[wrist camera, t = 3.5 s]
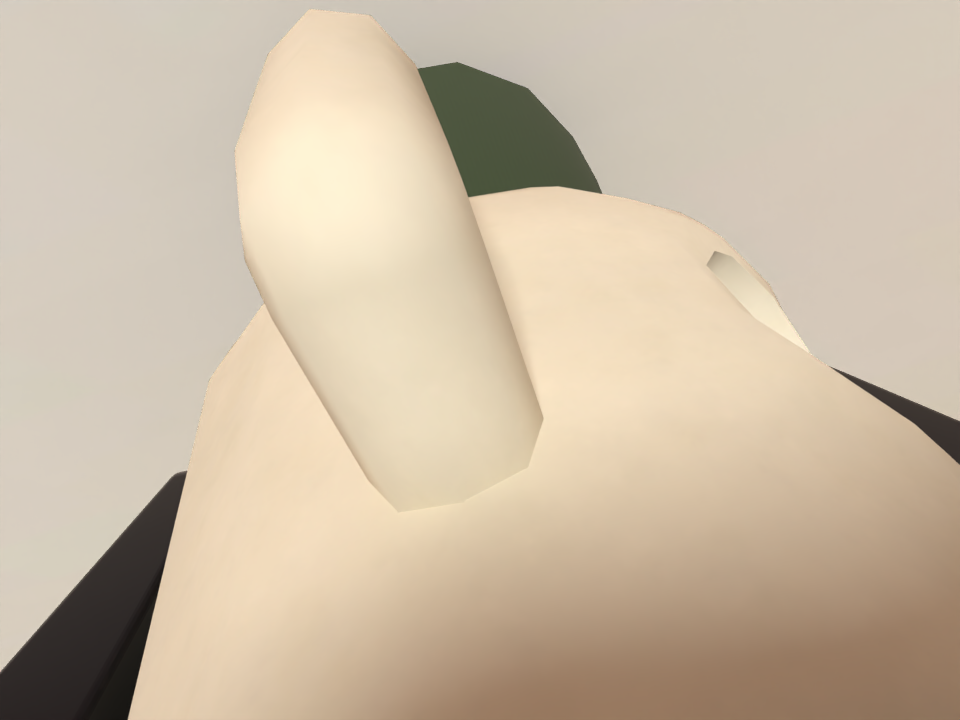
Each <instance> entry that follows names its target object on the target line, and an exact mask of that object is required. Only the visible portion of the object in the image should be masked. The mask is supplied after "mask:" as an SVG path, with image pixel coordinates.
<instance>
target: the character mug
mask: <svg viewBox="0 0 960 720" xmlns="http://www.w3.org/2000/svg"><path fill="white" fill-rule="evenodd" d="M234 152H235V164H236V177H237V190H238V202H239V215H240V224H241V232H242V241H243V249H244V257H245V262H246V264H247V266H248V268H249V271H250V273H251V275H252V277H253V279H254V281H255V284H256V286H257V288H258V290H259V292H260V295H261V297H262V299H263V301H264V303H263V305H262V306H261V308H260V309H259V311H258V312H257V313H256V315H255V316H254V318H253V319H252V320H251V322H250V323H249V325H248V326H247V327H246V329H245V330H244V332H243V333H242V334H241V336H240V337H239V339H238V340H237V341H236V343H235V344H234V345H233V346H232V348H231V349H230V350H229V352H228V353H227V355H226V356H225V358H224V359H223V361H222V362H221V363H220V365H219V366H218V368H217V369H216V371H215V372H214V374H213V375H212V377H211V378H210V380H209V383H208V387H207V391H206V396H205V400H204V404H203V408H202V412H201V416H200V421H199V425H198V429H197V433H196V437H195V441H194V446H193V450H192V454H191V458H190V462H189V466H188V471H187V475H186V479H185V483H184V487H183V491H182V496H181V500H180V504H179V508H178V512H177V516H176V521H175V525H174V529H173V533H172V537H171V541H170V546H169V550H168V554H167V558H166V562H165V566H164V571H163V575H162V579H161V583H160V587H159V591H158V596H157V600H156V604H155V608H154V612H153V616H152V621H151V625H150V629H149V633H148V637H147V641H146V646H145V650H144V654H143V658H142V662H141V666H140V671H139V675H138V679H137V683H136V687H135V691H134V696H133V700H132V704H131V708H130V712H129V717H128V720H960V465H959V464H958V463H957V462H956V461H955V460H954V459H953V458H952V457H951V456H949V455H948V454H947V453H946V452H945V451H944V450H943V449H942V448H941V447H940V446H938V445H937V444H936V443H935V442H934V441H933V440H932V439H931V438H930V437H929V436H927V435H926V434H925V433H924V432H923V431H922V430H921V429H920V428H919V427H917V426H916V425H915V424H914V423H912V422H911V421H909V420H908V419H906V418H905V417H903V416H902V415H901V414H899V413H898V412H896V411H895V410H893V409H892V408H890V407H889V406H887V405H886V404H884V403H883V402H881V401H880V400H878V399H877V398H875V397H874V396H872V395H871V394H869V393H868V392H866V391H865V390H863V389H862V388H860V387H859V386H857V385H856V384H854V383H853V382H851V381H850V380H848V379H847V378H845V377H844V376H842V375H841V374H839V373H838V372H836V371H835V370H833V369H832V368H831V367H829V366H828V365H826V364H825V363H823V362H822V361H820V360H819V359H817V358H816V357H814V356H813V355H811V353H810V352H809V350H808V349H807V347H806V345H805V344H804V342H803V341H802V339H801V338H800V336H799V335H798V333H797V332H796V330H795V329H794V327H793V326H792V324H791V323H790V321H789V320H788V318H787V317H786V315H785V314H784V312H783V310H782V308H781V306H780V304H779V302H778V300H777V298H776V296H775V294H774V292H773V290H772V288H771V286H770V284H769V283H768V282H767V281H766V280H765V279H764V278H763V277H762V276H761V275H760V274H759V273H758V272H757V271H756V270H755V269H754V268H753V267H752V266H751V265H750V264H749V263H748V262H747V261H746V260H745V259H744V258H743V257H742V256H741V255H740V254H739V253H738V252H737V251H736V250H735V249H734V248H733V247H732V246H731V245H730V244H729V243H728V242H727V241H726V240H725V239H724V238H722V237H721V236H719V235H718V234H717V233H715V232H714V231H712V230H711V229H709V228H708V227H706V226H705V225H703V224H702V223H700V222H698V221H696V220H694V219H692V218H690V217H688V216H686V215H684V214H682V213H680V212H677V211H673V210H669V209H665V208H662V207H658V206H654V205H650V204H647V203H643V202H639V201H635V200H631V199H628V198H622V197H617V196H611V195H605V194H602V192H601V190H600V187H599V185H598V182H597V180H596V178H595V176H594V174H593V173H592V171H591V169H590V167H589V165H588V163H587V162H586V160H585V158H584V156H583V154H582V153H581V151H580V149H579V147H578V145H577V143H576V142H575V140H574V138H573V136H572V135H571V134H570V133H569V132H568V131H567V130H566V129H565V128H564V127H563V126H562V125H561V124H560V122H559V121H558V120H557V119H556V118H555V117H554V116H553V115H552V114H551V113H550V112H549V111H548V109H547V108H546V107H545V106H544V105H543V104H542V103H541V102H540V101H539V100H538V99H537V98H536V97H535V95H534V94H533V93H532V92H531V91H530V90H529V89H528V88H525V87H523V86H520V85H517V84H515V83H512V82H509V81H507V80H504V79H501V78H499V77H496V76H493V75H491V74H488V73H485V72H482V71H480V70H477V69H474V68H472V67H469V66H466V65H464V64H461V63H458V62H456V63H450V64H444V65H438V66H432V67H426V68H420V69H417V67H416V65H415V63H414V62H413V61H412V60H411V59H410V58H409V57H408V56H407V55H406V54H405V52H404V51H403V50H402V49H401V48H400V47H399V46H398V45H397V44H396V43H395V41H394V40H393V39H392V38H391V37H390V36H389V35H388V34H387V33H386V31H385V30H384V29H383V28H382V27H381V26H380V25H379V24H378V23H377V22H376V20H375V19H374V18H373V17H372V16H371V15H364V14H354V13H344V12H334V11H324V10H315V9H309V10H308V11H307V12H306V13H305V14H304V15H303V17H302V18H301V19H300V20H299V21H298V22H297V23H296V24H295V25H294V26H293V27H292V29H291V30H290V31H289V32H288V33H287V34H286V35H285V36H284V37H283V38H282V39H281V41H280V42H279V43H278V44H277V45H276V46H275V47H274V48H273V49H272V50H271V51H270V52H269V54H268V55H267V58H266V61H265V64H264V67H263V70H262V72H261V75H260V78H259V81H258V84H257V87H256V89H255V92H254V95H253V98H252V101H251V104H250V107H249V110H248V113H247V116H246V119H245V122H244V125H243V128H242V131H241V134H240V137H239V140H238V142H237V145H236V148H235V151H234Z"/></svg>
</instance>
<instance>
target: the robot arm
mask: <svg viewBox="0 0 960 720" xmlns="http://www.w3.org/2000/svg"><path fill="white" fill-rule="evenodd" d="M829 367H830V366H829ZM831 368H832V367H831ZM832 369H833V370H835V371H836V372H838V373H839V374H841V375H842V376H844V377H845V378H847V379H848V380H850V381H851V382H853V383H854V384H856V385H857V386H859V387H860V388H862V389H863V390H865V391H866V392H868V393H869V394H871V395H872V396H874V397H875V398H877V399H878V400H880V401H881V402H883V403H884V404H886V405H887V406H889V407H890V408H892V409H893V410H895V411H896V412H898V413H899V414H901V415H902V416H903V417H905V418H906V419H908V420H909V421H911V422H912V423H914V424H915V425H916V426H917V427H919V428H920V429H921V430H922V431H923V432H924V433H925V434H926V435H927V436H929V437H930V438H931V439H932V440H933V441H934V442H935V443H936V444H937V445H938V446H940V447H941V448H942V449H943V450H944V451H945V452H946V453H947V454H948V455H949V456H951V457H952V458H953V459H954V460H955V461H956V462H957V463H958V464H959V465H960V421H958V420H955V419H953V418H951V417H948V416H946V415H944V414H941V413H939V412H937V411H934V410H932V409H929V408H927V407H925V406H922V405H920V404H918V403H915V402H913V401H910V400H908V399H906V398H903V397H901V396H899V395H896V394H894V393H892V392H889V391H887V390H884V389H882V388H880V387H877V386H875V385H873V384H870V383H868V382H866V381H863V380H861V379H858V378H856V377H854V376H851V375H849V374H847V373H844V372H842V371H839V370H837V369H835V368H832ZM186 475H187V471H183V472H179V473H176V474H175V475H174V476H172V477H171V478H170V479H169V481H168V482H167V483H166V484H165V485H164V486H163V487H162V489H161V490H160V491H159V492H158V493H157V494H156V495H155V497H154V498H153V499H152V500H151V501H150V502H149V503H148V505H147V506H146V507H145V508H144V509H143V510H142V511H141V513H140V514H139V515H138V516H137V517H136V518H135V519H134V520H133V522H132V523H131V524H130V525H129V526H128V527H127V528H126V530H125V531H124V532H123V533H122V534H121V535H120V536H119V538H118V539H117V540H116V541H115V542H114V543H113V544H112V546H111V547H110V548H109V549H108V550H107V551H106V552H105V553H104V555H103V556H102V557H101V558H100V559H99V560H98V561H97V563H96V564H95V565H94V566H93V567H92V568H91V569H90V571H89V572H88V573H87V574H86V575H85V576H84V577H83V579H82V580H81V581H80V582H79V583H78V584H77V585H76V586H75V588H74V589H73V590H72V591H71V592H70V593H69V594H68V596H67V597H66V598H65V599H64V600H63V601H62V602H61V604H60V605H59V606H58V607H57V608H56V609H55V610H54V612H53V613H52V614H51V615H50V616H49V617H48V618H47V620H46V621H45V622H44V623H43V624H42V625H41V626H40V627H39V629H38V630H37V631H36V632H35V633H34V634H33V635H32V637H31V638H30V639H29V640H28V641H27V642H26V643H25V645H24V646H23V647H22V648H21V649H20V650H19V651H18V653H17V654H16V655H15V656H14V657H13V658H12V659H11V660H10V662H9V663H8V664H7V665H6V666H5V667H4V668H3V670H2V671H1V672H0V720H128V717H129V712H130V708H131V704H132V700H133V696H134V691H135V687H136V683H137V679H138V675H139V671H140V666H141V662H142V658H143V654H144V650H145V646H146V641H147V637H148V633H149V629H150V625H151V621H152V616H153V612H154V608H155V604H156V600H157V596H158V591H159V587H160V583H161V579H162V575H163V571H164V566H165V562H166V558H167V554H168V550H169V546H170V541H171V537H172V533H173V529H174V525H175V521H176V516H177V512H178V508H179V504H180V500H181V496H182V491H183V487H184V483H185V479H186Z"/></svg>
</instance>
